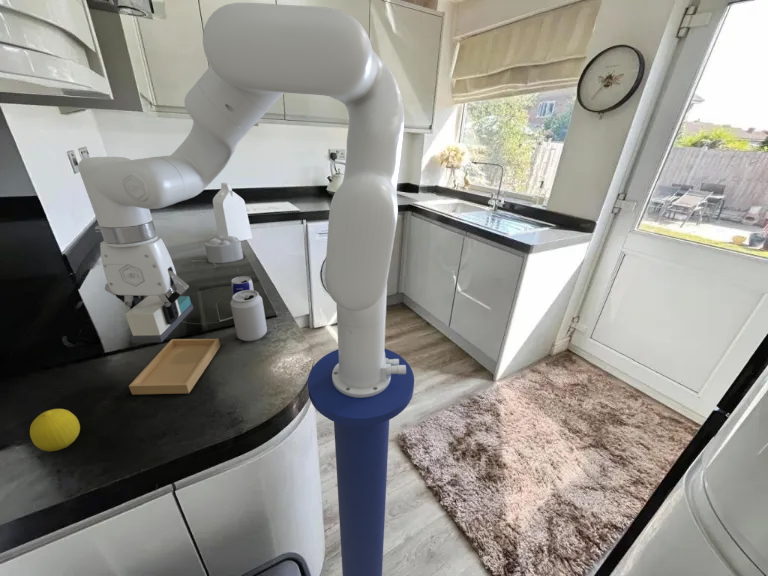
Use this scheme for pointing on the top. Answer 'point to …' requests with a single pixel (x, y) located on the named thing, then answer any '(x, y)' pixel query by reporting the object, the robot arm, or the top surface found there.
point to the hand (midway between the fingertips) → (157, 320)
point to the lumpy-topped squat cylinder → (223, 249)
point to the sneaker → (154, 319)
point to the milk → (231, 214)
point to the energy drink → (241, 284)
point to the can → (248, 315)
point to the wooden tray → (176, 367)
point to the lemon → (54, 429)
